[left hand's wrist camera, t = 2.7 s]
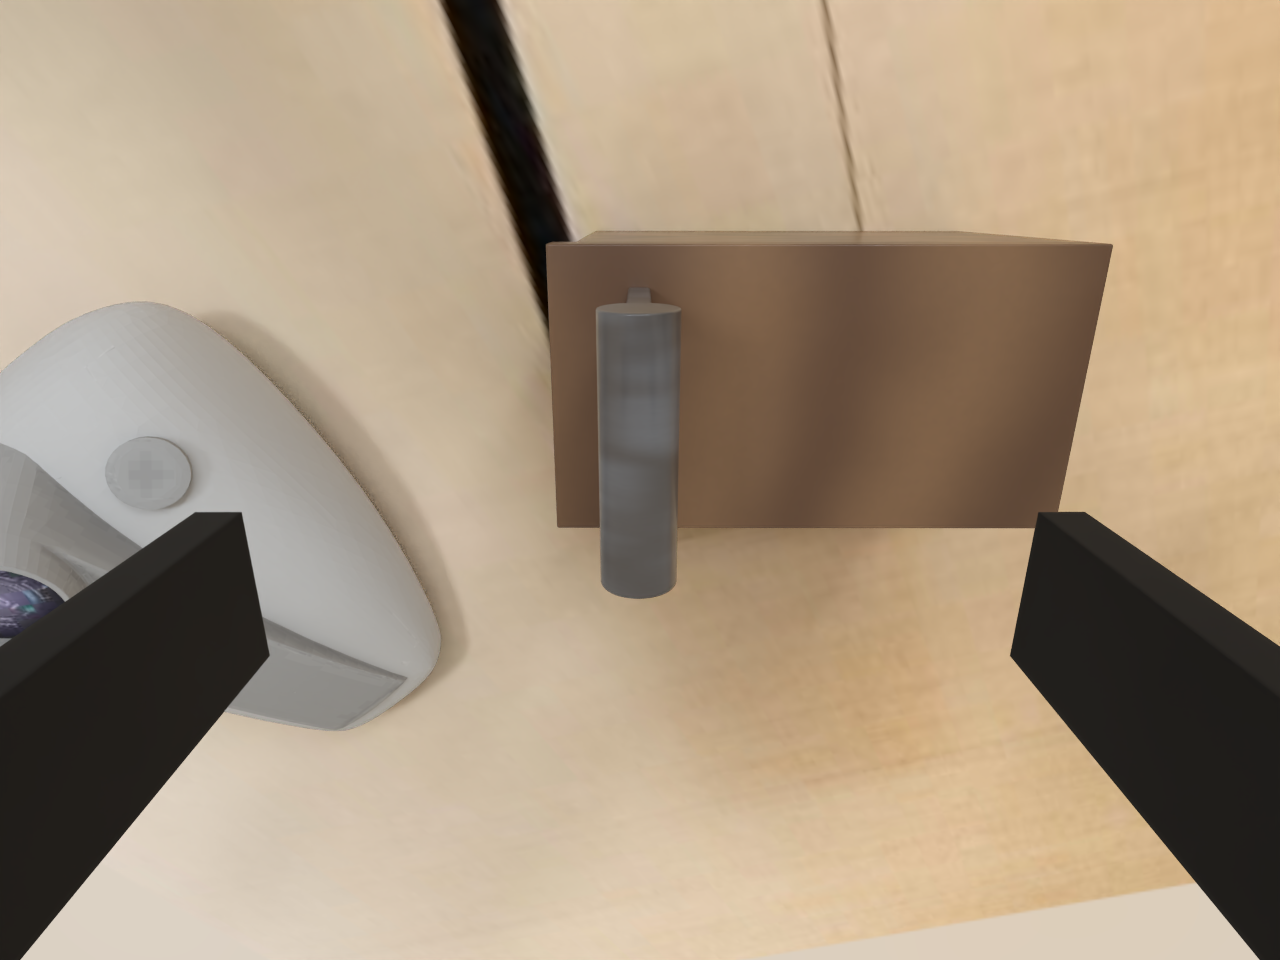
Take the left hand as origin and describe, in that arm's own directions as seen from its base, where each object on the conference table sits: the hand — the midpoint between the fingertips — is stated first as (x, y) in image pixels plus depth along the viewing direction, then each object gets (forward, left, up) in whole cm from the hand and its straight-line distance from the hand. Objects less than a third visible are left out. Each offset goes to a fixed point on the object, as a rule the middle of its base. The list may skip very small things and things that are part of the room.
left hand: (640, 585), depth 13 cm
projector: (-15, -17, -26) cm, 34 cm away
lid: (+6, +2, -15) cm, 16 cm away
